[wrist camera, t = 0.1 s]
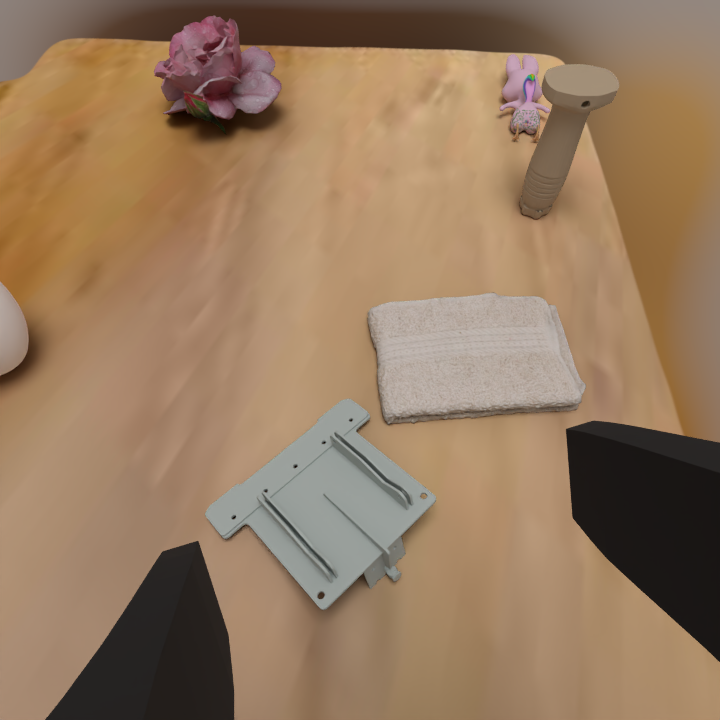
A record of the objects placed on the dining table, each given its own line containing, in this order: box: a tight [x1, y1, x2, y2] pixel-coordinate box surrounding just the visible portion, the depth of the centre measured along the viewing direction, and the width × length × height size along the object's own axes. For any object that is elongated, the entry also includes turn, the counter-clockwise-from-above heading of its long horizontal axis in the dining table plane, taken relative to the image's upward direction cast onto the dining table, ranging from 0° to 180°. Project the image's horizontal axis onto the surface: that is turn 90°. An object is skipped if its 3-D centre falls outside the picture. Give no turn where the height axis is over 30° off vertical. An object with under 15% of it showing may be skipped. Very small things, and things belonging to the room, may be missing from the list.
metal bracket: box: [205, 399, 436, 610], centre depth 42 cm, size 14×6×15 cm
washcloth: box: [368, 293, 586, 425], centre depth 49 cm, size 12×18×3 cm, turn 96°
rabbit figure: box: [500, 54, 550, 142], centre depth 69 cm, size 6×6×15 cm
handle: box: [519, 64, 619, 219], centre depth 54 cm, size 5×6×15 cm
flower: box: [154, 16, 281, 134], centre depth 66 cm, size 15×15×10 cm
